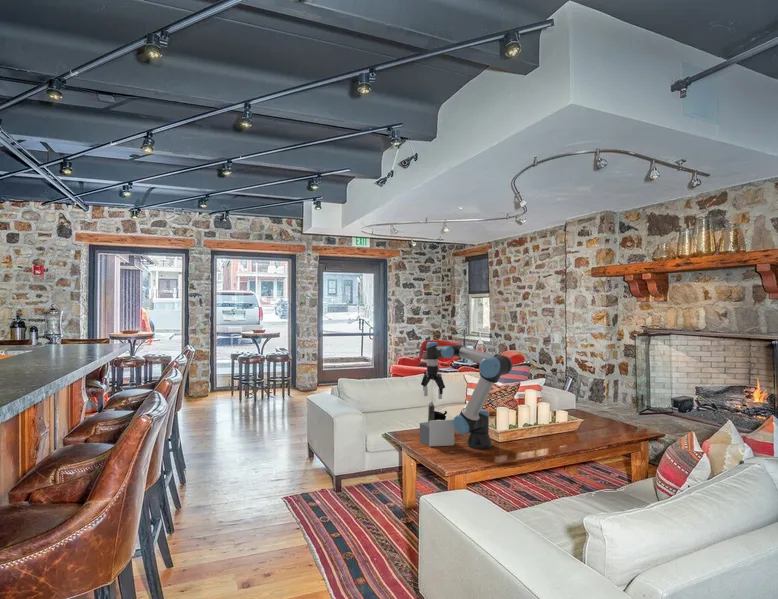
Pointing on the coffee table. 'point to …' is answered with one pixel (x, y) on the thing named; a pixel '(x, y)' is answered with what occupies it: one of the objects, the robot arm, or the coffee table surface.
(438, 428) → the grey square panel
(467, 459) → the coffee table surface
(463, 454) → the coffee table surface
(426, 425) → the grey box
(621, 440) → the coffee table surface
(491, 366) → the robot arm
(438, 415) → the vintage camera
